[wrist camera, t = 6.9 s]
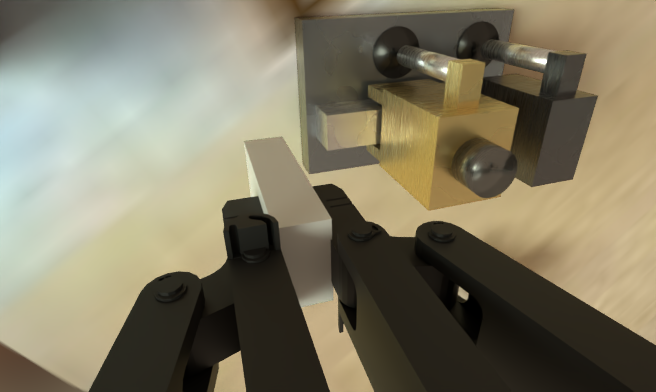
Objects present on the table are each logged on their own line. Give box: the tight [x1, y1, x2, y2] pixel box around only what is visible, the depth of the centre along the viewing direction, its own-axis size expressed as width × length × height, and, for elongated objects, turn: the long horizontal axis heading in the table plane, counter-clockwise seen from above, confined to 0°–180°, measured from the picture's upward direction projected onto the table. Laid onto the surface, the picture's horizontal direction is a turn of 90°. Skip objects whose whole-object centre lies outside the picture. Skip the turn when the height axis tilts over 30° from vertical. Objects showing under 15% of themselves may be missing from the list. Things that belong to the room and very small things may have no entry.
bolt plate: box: [295, 8, 598, 187], centre depth 20 cm, size 12×8×8 cm, turn 92°
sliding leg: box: [366, 45, 519, 211], centre depth 18 cm, size 4×6×8 cm, turn 2°
